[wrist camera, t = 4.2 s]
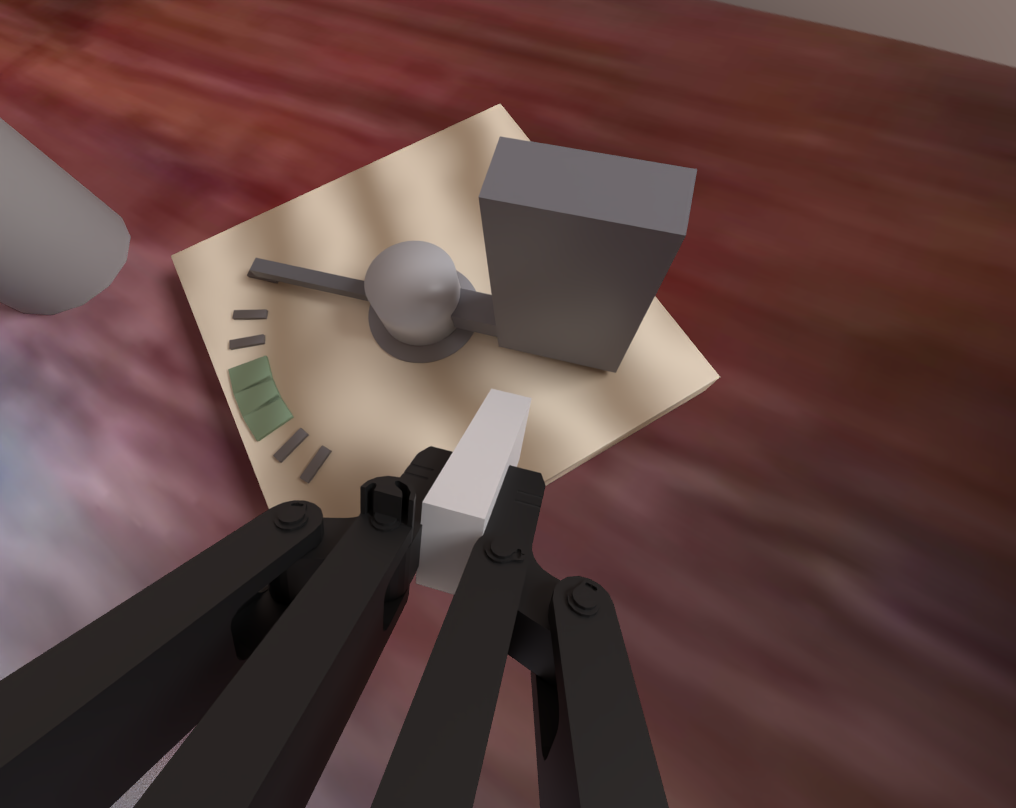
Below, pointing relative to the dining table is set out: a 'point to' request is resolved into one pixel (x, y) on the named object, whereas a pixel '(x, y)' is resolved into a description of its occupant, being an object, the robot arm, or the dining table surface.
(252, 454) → the dial plate
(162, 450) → the dining table surface
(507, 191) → the lever dial gauge
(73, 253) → the cup
